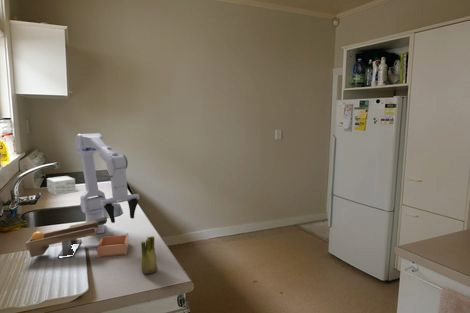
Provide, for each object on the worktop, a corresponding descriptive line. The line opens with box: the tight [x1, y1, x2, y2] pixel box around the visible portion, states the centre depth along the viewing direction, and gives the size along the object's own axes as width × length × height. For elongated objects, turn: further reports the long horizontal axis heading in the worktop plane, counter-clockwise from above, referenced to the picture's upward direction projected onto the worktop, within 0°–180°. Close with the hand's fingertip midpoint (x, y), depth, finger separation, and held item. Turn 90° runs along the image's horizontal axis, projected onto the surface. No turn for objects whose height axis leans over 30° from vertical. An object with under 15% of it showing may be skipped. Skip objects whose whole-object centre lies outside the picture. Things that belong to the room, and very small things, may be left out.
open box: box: [96, 232, 130, 259], centre depth 124 cm, size 11×10×4 cm
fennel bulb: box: [140, 235, 158, 275], centre depth 106 cm, size 6×5×12 cm
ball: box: [30, 230, 44, 241], centre depth 116 cm, size 4×4×4 cm
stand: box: [57, 238, 83, 257], centre depth 124 cm, size 15×5×6 cm, turn 14°
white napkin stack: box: [46, 175, 77, 196], centre depth 217 cm, size 17×13×9 cm
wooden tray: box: [24, 216, 108, 258], centre depth 123 cm, size 16×25×6 cm, turn 104°
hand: (122, 220), depth 126 cm, fingers open, 7 cm apart
